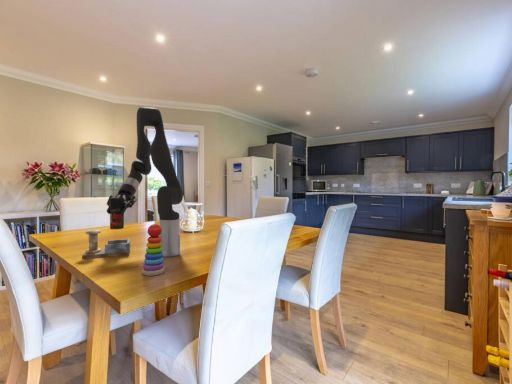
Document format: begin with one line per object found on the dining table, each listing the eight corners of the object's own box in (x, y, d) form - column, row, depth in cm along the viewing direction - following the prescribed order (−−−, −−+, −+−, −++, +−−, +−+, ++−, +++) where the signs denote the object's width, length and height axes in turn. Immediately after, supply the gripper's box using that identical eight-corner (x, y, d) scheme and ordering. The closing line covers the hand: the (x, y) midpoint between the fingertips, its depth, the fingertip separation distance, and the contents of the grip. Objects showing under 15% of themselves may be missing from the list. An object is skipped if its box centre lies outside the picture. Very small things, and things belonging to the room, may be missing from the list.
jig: (130, 249, 134) (130, 227, 133) (129, 254, 123) (129, 230, 123) (87, 252, 126) (86, 229, 126) (82, 258, 116) (81, 233, 115)
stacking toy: (157, 277, 93) (157, 226, 93) (137, 275, 95) (137, 225, 95) (168, 270, 101) (168, 223, 101) (150, 268, 103) (150, 222, 102)
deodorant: (107, 228, 124) (106, 198, 124) (116, 226, 130) (116, 197, 129) (117, 229, 122) (116, 198, 122) (126, 227, 128) (126, 197, 128)
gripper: (113, 182, 133) (96, 207, 122) (139, 183, 132) (125, 208, 121) (119, 192, 139) (104, 217, 128) (144, 193, 137) (131, 218, 126)
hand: (114, 212), depth 124 cm, fingers closed on deodorant, 6 cm apart
